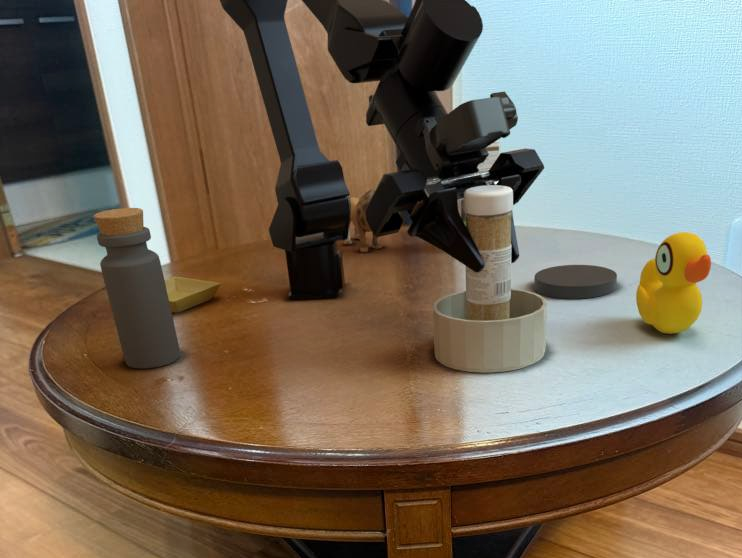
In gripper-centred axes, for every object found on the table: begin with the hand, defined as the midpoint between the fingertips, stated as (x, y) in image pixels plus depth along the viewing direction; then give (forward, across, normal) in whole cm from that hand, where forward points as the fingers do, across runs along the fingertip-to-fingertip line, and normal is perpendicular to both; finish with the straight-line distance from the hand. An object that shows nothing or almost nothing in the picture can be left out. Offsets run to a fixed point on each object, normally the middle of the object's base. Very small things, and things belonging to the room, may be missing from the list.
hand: (498, 264), depth 76 cm
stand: (-1, +23, +14) cm, 27 cm away
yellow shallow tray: (-24, -15, +38) cm, 48 cm away
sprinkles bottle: (+4, 0, +6) cm, 7 cm away
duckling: (+12, +17, +1) cm, 21 cm away
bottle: (-12, -26, +25) cm, 38 cm away
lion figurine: (-29, +20, +43) cm, 55 cm away
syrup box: (-19, +30, +33) cm, 49 cm away
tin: (+6, 0, +7) cm, 9 cm away
